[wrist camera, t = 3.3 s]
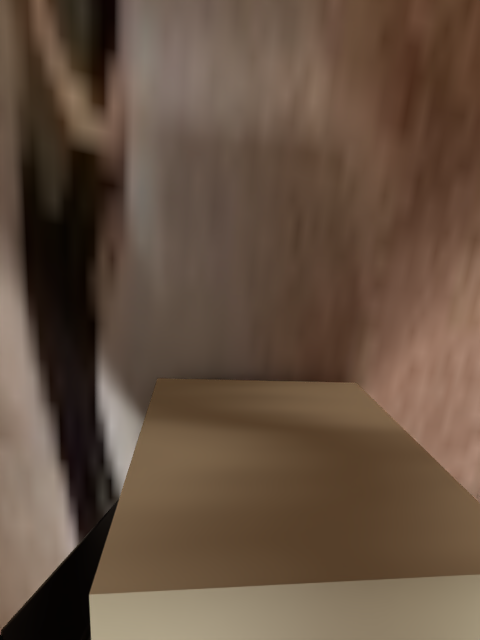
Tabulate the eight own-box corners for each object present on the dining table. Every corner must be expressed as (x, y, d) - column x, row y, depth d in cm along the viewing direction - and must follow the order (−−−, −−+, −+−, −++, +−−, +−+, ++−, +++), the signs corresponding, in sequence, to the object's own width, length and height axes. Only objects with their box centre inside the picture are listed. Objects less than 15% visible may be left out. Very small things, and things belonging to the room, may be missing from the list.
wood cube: (154, 546, 9) (103, 887, 4) (157, 378, 8) (88, 594, 3) (329, 540, 10) (451, 833, 5) (356, 382, 9) (549, 571, 4)
